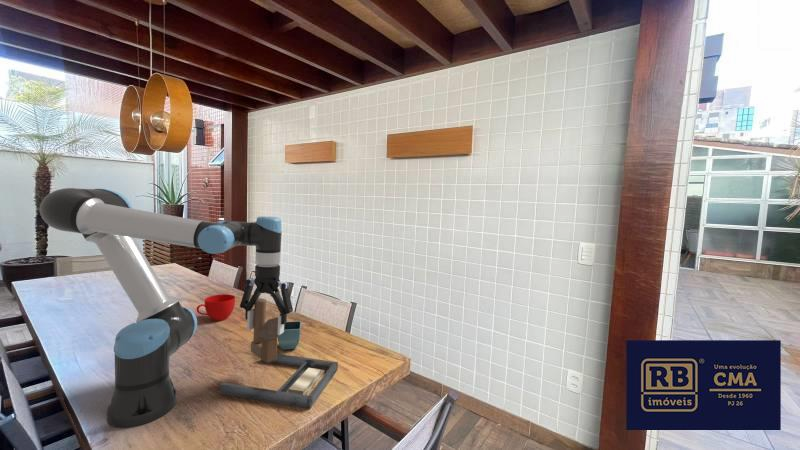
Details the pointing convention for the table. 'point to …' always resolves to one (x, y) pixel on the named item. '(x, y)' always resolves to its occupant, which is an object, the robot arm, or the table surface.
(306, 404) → the tray
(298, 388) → the offcut stack
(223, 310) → the ceramic cup
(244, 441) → the table surface
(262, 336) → the wooden block
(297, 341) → the flower pot
